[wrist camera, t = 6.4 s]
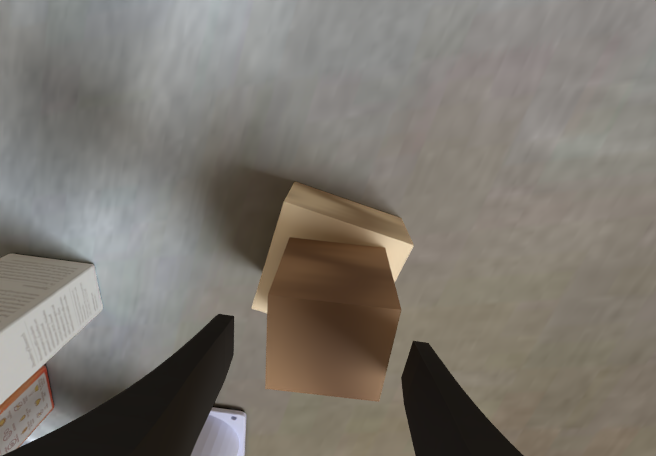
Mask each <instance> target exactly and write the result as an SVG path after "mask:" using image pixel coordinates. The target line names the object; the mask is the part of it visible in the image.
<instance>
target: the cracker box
mask: <svg viewBox="0 0 656 456" xmlns="http://www.w3.org/2000/svg"><path fill="white" fill-rule="evenodd" d="M53 408H54V403H53V399H52V393H51V389H50V383H49V378H48V373H47V369H46V366H44V365H43V366H42V367H41V368H40V369H39V370H38V371H36V372H35V373H34V374H33V375H32V376H31V377H30V378H29V379H28V380H27V381H26V382H25V383H23V384H22V385H21V386H20V387H19V388H18V389H17V390H16V391H15V392H14V393H13V394H12V395H11V396H9V397H8V398H7V399H6V400H5V401H4V402H3V403H2V404H1V405H0V456H2V455H4V454H6V453H9V452H11V451H13V450H15V449H17V448H19V447H20V446H21V444H22V443H23V442H24V441H25V440H26V439H27V438H28V437H29V436H30V434H31V433H32V432H33V431H34V430H35V429H36V427H37V426H38V425H39V424H40V423H41V422H42V421H43V420H44V419H45V417H46V416H47V415H48V414H49V413H50V412H51V411H52V410H53Z"/></svg>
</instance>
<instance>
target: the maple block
mask: <svg viewBox="0 0 656 456" xmlns="http://www.w3.org/2000/svg"><path fill="white" fill-rule="evenodd" d="M289 237H292V238H301V239H310V240H319V241H328V242H337V243H346V244H355V245H364V246H373V247H382V248H385V249H386V253H387V257H388V261H389V264H390V268H391V272H392V276H393V280H394V283H395V281H396V279H397V277H398V275H399V273H400V271H401V269H402V267H403V265H404V263H405V261H406V259H407V258H408V256H409V254H410V252H411V250H412V248H413V246H414V245H413V242H412V240H411V238H410V236H409V234H408V232H407V229H406V227H405V225H404V223H403V221H402V218H399V217H396V216H393V215H390V214H388V213H385V212H382V211H379V210H376V209H373V208H370V207H367V206H364V205H362V204H359V203H356V202H353V201H350V200H347V199H344V198H341V197H338V196H336V195H333V194H330V193H327V192H324V191H321V190H318V189H315V188H312V187H310V186H307V185H304V184H301V183H298V182H294V184H293V185H292V187H291V189H290V191H289V193H288V195H287V197H286V198H285V200H284V203H283V206H282V209H281V213H280V216H279V219H278V222H277V226H276V229H275V232H274V236H273V239H272V242H271V246H270V249H269V252H268V256H267V259H266V262H265V265H264V269H263V272H262V275H261V279H260V282H259V285H258V289H257V292H256V295H255V298H254V302H253V305H252V309H255V310H258V311H262V312H265V313H267V305H268V293H269V290H270V288H271V285H272V282H273V280H274V277H275V274H276V272H277V269H278V266H279V264H280V261H281V258H282V256H283V253H284V251H285V248H286V245H287V243H288V240H289Z"/></svg>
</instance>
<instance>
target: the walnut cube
mask: <svg viewBox="0 0 656 456" xmlns="http://www.w3.org/2000/svg"><path fill="white" fill-rule="evenodd" d="M400 313H401V307H400V303H399V299H398V295H397V291H396V288H395V284H394V280H393V276H392V272H391V268H390V264H389V261H388V257H387V253H386V249H385V248H382V247H373V246H364V245H355V244H346V243H337V242H328V241H319V240H310V239H301V238H292V237H289V240H288V243H287V245H286V248H285V251H284V253H283V256H282V258H281V261H280V264H279V266H278V269H277V272H276V274H275V277H274V280H273V282H272V285H271V288H270V290H269V293H268V305H267V346H266V387H265V389H273V390H282V391H291V392H299V393H308V394H317V395H326V396H335V397H344V398H352V399H361V400H370V401H379V400H380V395H381V391H382V387H383V383H384V379H385V375H386V371H387V367H388V363H389V358H390V354H391V350H392V346H393V342H394V338H395V334H396V330H397V325H398V321H399V317H400Z"/></svg>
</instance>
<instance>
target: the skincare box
mask: <svg viewBox="0 0 656 456" xmlns="http://www.w3.org/2000/svg"><path fill="white" fill-rule="evenodd" d="M102 309H103V304H102V300H101V296H100V291H99V286H98V281H97V276H96V271H95V267H94V265H93V264H87V263H79V262H71V261H64V260H57V259H49V258H42V257H34V256H27V255H19V254H12V253H11V254H7V255H5V256H3V257H1V258H0V405H1V404H2V403H3V402H4V401H5V400H6V399H7V398H8V397H9V396H11V395H12V394H13V393H14V392H15V391H16V390H17V389H18V388H19V387H20V386H21V385H22V384H23V383H25V382H26V381H27V380H28V379H29V378H30V377H31V376H32V375H33V374H34V373H35V372H36V371H38V370H39V369H40V368H41V367H42V366H43V365H44V364H45V363H46V362H47V361H48V360H49V359H50V358H51V357H53V356H54V355H55V354H56V353H57V352H58V351H59V350H60V349H61V348H62V347H63V346H64V345H66V344H67V343H68V342H69V341H70V340H71V339H72V338H73V337H74V336H75V335H76V334H77V333H78V332H79V331H81V330H82V329H83V328H84V327H85V326H86V325H87V324H88V323H89V322H90V321H91V320H92V319H93V318H94V317H96V316H97V315H98V314H99V313H100V312H101V311H102Z"/></svg>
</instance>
